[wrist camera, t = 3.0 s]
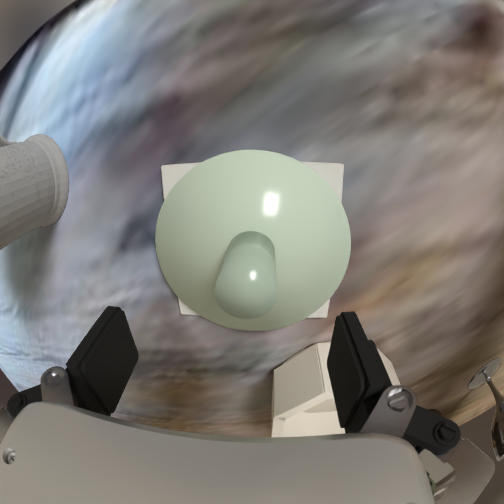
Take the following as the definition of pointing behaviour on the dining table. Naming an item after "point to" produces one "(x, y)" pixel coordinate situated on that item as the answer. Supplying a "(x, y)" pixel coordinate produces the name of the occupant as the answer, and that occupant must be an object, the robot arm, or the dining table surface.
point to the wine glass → (500, 432)
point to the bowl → (308, 394)
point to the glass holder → (30, 185)
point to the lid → (253, 240)
